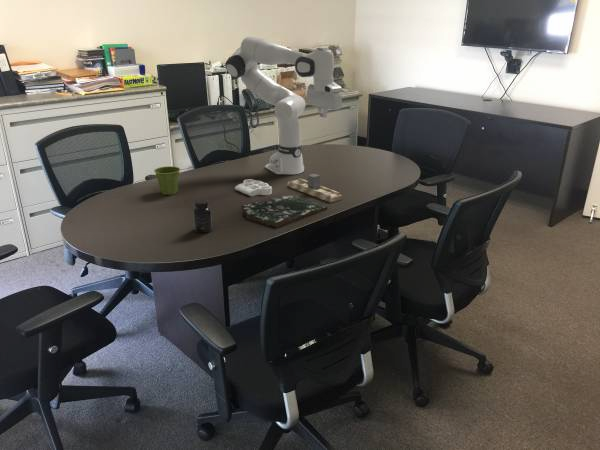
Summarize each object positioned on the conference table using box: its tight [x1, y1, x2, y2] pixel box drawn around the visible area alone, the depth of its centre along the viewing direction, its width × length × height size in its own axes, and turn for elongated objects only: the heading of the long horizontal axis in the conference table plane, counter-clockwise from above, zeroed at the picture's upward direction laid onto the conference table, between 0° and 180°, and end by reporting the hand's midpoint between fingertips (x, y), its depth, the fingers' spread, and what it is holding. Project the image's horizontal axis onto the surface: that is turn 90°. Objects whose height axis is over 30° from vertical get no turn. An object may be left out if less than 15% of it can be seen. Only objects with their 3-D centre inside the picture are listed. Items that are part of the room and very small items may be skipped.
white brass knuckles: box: [234, 178, 273, 197], centre depth 242 cm, size 3×18×15 cm
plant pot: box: [153, 165, 181, 196], centre depth 236 cm, size 12×12×11 cm
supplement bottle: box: [192, 199, 213, 234], centre depth 196 cm, size 7×7×12 cm
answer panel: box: [287, 177, 343, 203], centre depth 240 cm, size 30×7×3 cm, turn 41°
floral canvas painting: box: [241, 193, 328, 229], centre depth 218 cm, size 26×33×3 cm
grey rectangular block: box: [307, 173, 321, 189], centre depth 238 cm, size 4×4×6 cm
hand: (322, 116), depth 234 cm, fingers closed
